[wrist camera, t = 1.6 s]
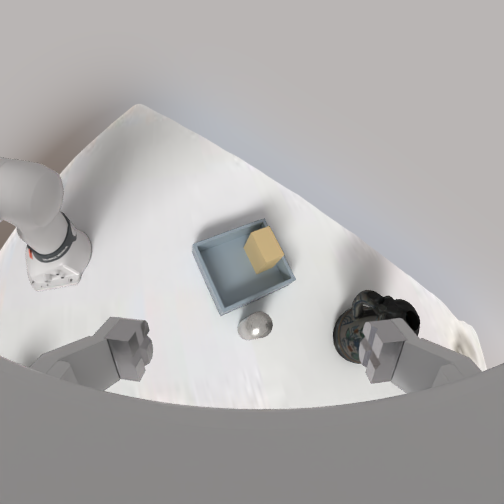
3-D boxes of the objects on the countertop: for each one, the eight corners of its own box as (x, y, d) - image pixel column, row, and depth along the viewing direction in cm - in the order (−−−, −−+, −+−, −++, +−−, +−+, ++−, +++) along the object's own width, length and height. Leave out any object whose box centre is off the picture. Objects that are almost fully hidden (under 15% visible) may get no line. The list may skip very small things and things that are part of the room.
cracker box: (256, 274, 73) (266, 262, 64) (243, 247, 75) (250, 232, 66) (272, 267, 75) (284, 254, 65) (259, 241, 76) (269, 225, 67)
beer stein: (371, 368, 71) (432, 366, 48) (315, 353, 69) (369, 350, 47) (382, 316, 77) (440, 298, 54) (330, 297, 76) (383, 271, 53)
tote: (220, 315, 68) (223, 312, 63) (192, 252, 72) (192, 244, 67) (288, 285, 75) (295, 279, 69) (258, 227, 79) (264, 218, 73)
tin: (243, 343, 67) (253, 342, 56) (233, 323, 68) (242, 318, 57) (263, 334, 69) (276, 330, 58) (253, 314, 70) (265, 307, 59)
